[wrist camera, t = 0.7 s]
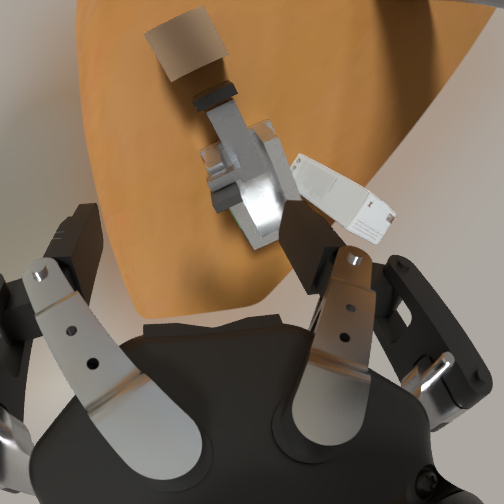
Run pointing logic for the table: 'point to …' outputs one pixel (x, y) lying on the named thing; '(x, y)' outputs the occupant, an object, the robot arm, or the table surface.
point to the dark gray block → (226, 197)
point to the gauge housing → (259, 185)
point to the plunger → (230, 136)
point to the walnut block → (186, 43)
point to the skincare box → (342, 199)
